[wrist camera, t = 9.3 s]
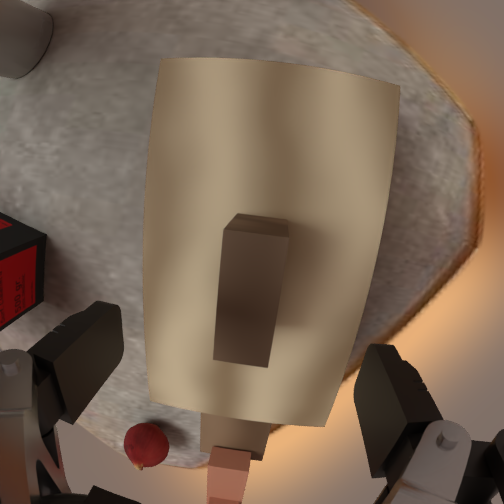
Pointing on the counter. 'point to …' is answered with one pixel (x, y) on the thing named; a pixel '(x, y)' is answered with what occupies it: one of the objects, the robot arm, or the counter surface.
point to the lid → (261, 233)
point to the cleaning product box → (20, 269)
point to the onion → (146, 445)
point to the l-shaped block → (227, 475)
